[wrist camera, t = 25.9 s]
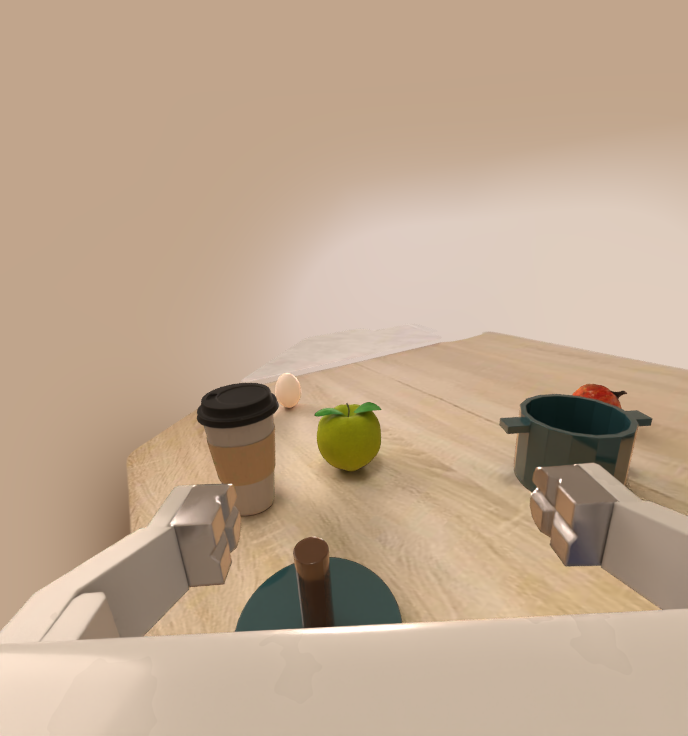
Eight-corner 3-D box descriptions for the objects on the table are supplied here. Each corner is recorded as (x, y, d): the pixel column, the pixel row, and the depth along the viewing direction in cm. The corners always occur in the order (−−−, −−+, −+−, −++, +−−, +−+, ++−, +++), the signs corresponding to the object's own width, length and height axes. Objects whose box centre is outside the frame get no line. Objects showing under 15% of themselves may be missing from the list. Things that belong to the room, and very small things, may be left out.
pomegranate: (571, 442, 61) (639, 420, 55) (547, 403, 62) (610, 377, 56) (578, 429, 67) (640, 407, 60) (555, 394, 68) (613, 369, 62)
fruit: (383, 483, 50) (382, 416, 47) (315, 483, 50) (309, 418, 47) (381, 448, 58) (380, 390, 55) (323, 448, 59) (319, 391, 56)
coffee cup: (207, 496, 49) (185, 393, 44) (272, 470, 54) (259, 375, 49) (228, 539, 42) (205, 419, 37) (301, 504, 46) (290, 396, 42)
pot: (671, 505, 43) (691, 432, 40) (520, 513, 43) (529, 442, 40) (599, 449, 55) (610, 390, 52) (481, 456, 55) (485, 398, 52)
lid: (423, 726, 24) (425, 629, 21) (214, 752, 23) (188, 655, 20) (386, 559, 36) (384, 485, 34) (250, 573, 36) (237, 499, 33)
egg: (275, 404, 78) (271, 371, 75) (300, 400, 79) (296, 367, 77) (278, 414, 73) (274, 379, 70) (304, 409, 74) (301, 375, 72)
